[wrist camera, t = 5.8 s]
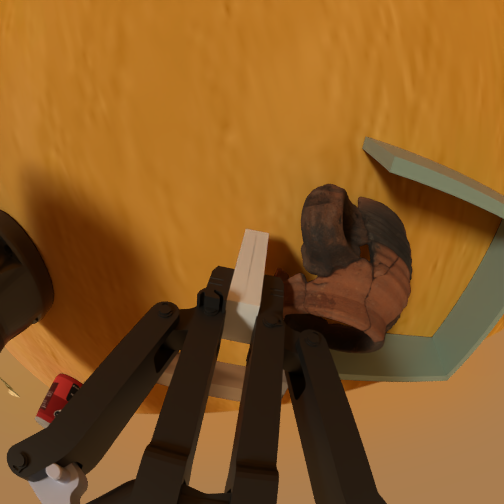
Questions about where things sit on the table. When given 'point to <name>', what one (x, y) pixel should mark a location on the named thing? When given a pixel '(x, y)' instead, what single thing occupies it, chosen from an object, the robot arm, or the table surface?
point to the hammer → (220, 380)
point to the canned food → (57, 398)
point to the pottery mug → (348, 271)
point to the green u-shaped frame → (466, 309)
